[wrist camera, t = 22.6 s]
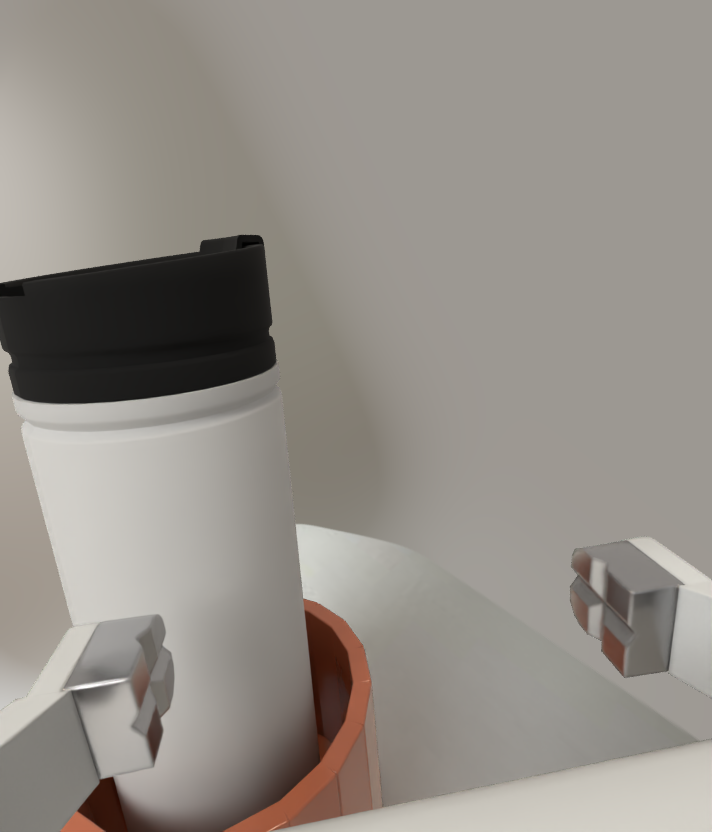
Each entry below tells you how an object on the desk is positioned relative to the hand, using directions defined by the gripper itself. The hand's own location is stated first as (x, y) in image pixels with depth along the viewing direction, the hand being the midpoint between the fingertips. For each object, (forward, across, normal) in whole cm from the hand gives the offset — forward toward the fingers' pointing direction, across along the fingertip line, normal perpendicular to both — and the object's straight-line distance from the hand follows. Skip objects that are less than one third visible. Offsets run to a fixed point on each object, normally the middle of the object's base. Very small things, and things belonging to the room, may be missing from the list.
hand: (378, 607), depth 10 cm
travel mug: (+5, -5, -13) cm, 14 cm away
